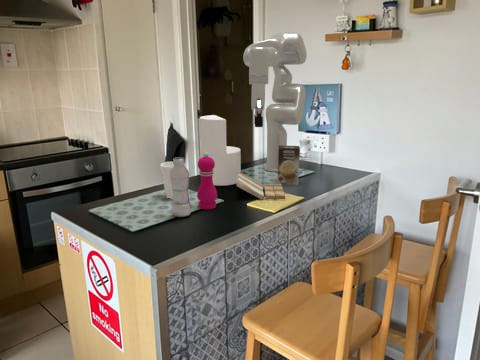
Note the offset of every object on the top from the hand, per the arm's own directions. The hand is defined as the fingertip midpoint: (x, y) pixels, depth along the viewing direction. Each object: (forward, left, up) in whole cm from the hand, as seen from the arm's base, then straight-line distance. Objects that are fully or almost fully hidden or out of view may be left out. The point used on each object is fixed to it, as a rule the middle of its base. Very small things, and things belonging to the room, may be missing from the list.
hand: (258, 125), depth 162 cm
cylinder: (-10, -16, -26) cm, 32 cm away
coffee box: (-5, +13, -26) cm, 30 cm away
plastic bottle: (+34, -27, -26) cm, 51 cm away
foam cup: (+13, -33, -26) cm, 44 cm away
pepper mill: (+25, -19, -26) cm, 41 cm away
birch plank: (+10, -4, -23) cm, 25 cm away
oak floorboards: (+10, +6, -26) cm, 28 cm away
